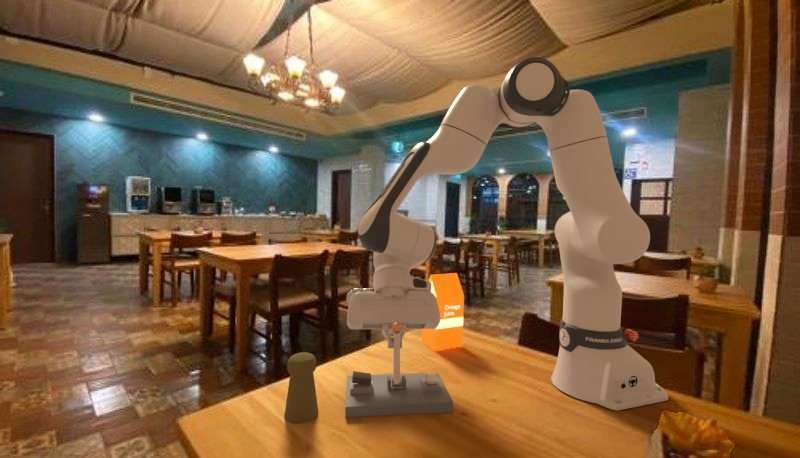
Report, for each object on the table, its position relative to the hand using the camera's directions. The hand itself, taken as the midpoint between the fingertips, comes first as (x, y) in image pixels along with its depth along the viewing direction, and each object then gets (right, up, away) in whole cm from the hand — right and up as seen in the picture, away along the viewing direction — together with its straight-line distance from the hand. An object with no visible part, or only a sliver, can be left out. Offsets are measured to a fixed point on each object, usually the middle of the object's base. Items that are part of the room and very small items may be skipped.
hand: (394, 347), depth 74 cm
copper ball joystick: (0, -6, -2) cm, 7 cm away
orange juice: (+13, -8, +27) cm, 31 cm away
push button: (+7, -7, -1) cm, 10 cm away
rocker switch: (-7, -5, -3) cm, 9 cm away
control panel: (0, -10, -2) cm, 10 cm away
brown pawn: (-17, -10, -8) cm, 21 cm away
